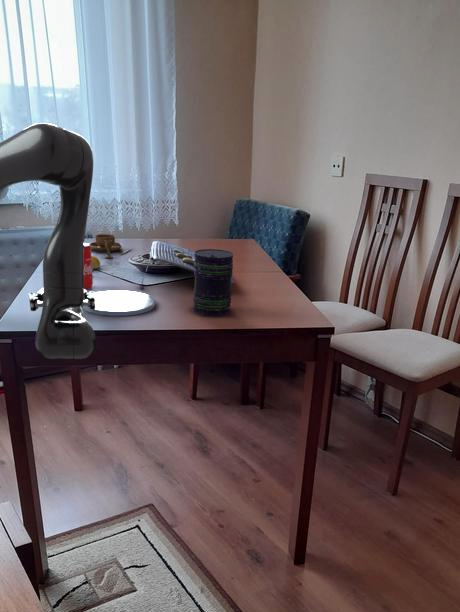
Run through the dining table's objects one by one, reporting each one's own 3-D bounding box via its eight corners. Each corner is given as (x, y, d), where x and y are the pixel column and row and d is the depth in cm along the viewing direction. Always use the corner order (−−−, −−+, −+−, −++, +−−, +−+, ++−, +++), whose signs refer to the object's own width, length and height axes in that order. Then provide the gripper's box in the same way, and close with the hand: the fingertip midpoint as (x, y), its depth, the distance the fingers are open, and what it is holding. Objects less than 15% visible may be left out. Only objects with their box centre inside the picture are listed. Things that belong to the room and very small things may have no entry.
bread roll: (105, 267, 181) (104, 254, 180) (86, 272, 174) (85, 259, 172) (85, 263, 185) (84, 251, 183) (66, 267, 178) (65, 255, 176)
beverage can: (87, 284, 162) (84, 242, 156) (96, 288, 158) (93, 245, 153) (71, 286, 158) (67, 243, 153) (80, 290, 155) (76, 247, 150)
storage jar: (196, 304, 149) (197, 247, 143) (232, 307, 149) (235, 250, 142) (190, 315, 141) (191, 255, 134) (228, 318, 140) (231, 258, 133)
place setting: (134, 248, 209) (134, 232, 207) (112, 259, 192) (111, 241, 189) (91, 244, 212) (90, 228, 210) (66, 254, 195) (64, 237, 192)
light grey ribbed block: (140, 265, 196) (148, 232, 192) (213, 287, 203) (222, 256, 199) (139, 291, 156) (150, 251, 152) (230, 318, 163) (243, 280, 159)
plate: (92, 319, 134) (92, 314, 133) (72, 298, 149) (72, 293, 148) (165, 311, 142) (165, 307, 142) (140, 292, 157) (140, 288, 156)
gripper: (97, 294, 115) (92, 275, 129) (25, 296, 112) (28, 276, 125) (99, 328, 119) (94, 306, 133) (29, 331, 115) (31, 308, 129)
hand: (62, 291), depth 129 cm, fingers open, 8 cm apart
